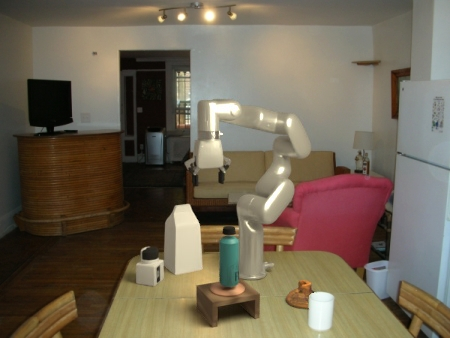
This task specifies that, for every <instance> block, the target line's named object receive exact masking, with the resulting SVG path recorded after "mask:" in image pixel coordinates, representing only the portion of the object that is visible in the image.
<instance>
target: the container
mask: <svg viewBox="0 0 450 338" xmlns="http://www.w3.org/2000/svg"><path fill="white" fill-rule="evenodd" d="M159 253H160V252H159V248H157V247H156V246H145V247H142V248H141V250H140V261H138V262H137V263H135V283H136V285H142V286H149V287H156V286H157V285H159V284H160V283H161V282H162V281H163V280H164V279H165V274H164V273H165V271H164V268H165V266H164V259H160V257H159V256H160V254H159Z"/></svg>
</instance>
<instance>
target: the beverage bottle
mask: <svg viewBox="0 0 450 338" xmlns="http://www.w3.org/2000/svg"><path fill="white" fill-rule="evenodd" d="M222 235H224V236H222V237H221V238H220V239H219V241H218V243H219V251H218V252H219V258H218V260H219V261H218V264H219V265H218V271H219V272H218V277H219V281H218V282H220V284H221V285H222V286H226V287H233V286H236V285H238V283H239V238H237V237H236V236H234V235H236V227H235V226H234V225H225V226H223V227H222Z"/></svg>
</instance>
